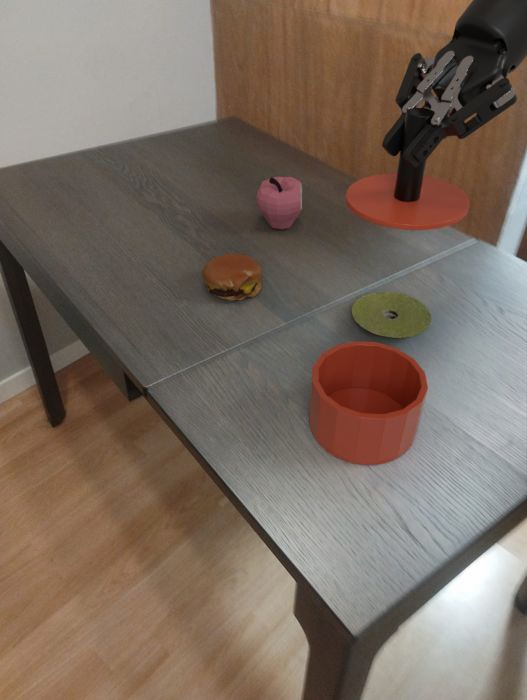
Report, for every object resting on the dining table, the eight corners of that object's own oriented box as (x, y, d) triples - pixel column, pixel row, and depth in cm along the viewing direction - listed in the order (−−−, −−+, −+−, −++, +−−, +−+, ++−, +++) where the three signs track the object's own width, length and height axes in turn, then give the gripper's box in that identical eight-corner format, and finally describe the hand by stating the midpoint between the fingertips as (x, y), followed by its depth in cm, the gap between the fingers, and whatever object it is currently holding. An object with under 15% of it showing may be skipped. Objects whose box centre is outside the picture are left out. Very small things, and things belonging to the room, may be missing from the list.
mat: (352, 298, 83) (353, 288, 82) (426, 305, 82) (428, 294, 80) (348, 343, 75) (349, 332, 74) (431, 352, 73) (433, 340, 72)
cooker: (408, 389, 68) (419, 343, 63) (422, 468, 58) (435, 421, 53) (310, 384, 69) (313, 339, 64) (308, 461, 59) (311, 415, 54)
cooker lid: (454, 183, 65) (474, 93, 58) (478, 237, 55) (506, 135, 48) (343, 181, 66) (350, 92, 59) (346, 234, 56) (356, 133, 49)
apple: (298, 239, 98) (300, 187, 92) (252, 235, 100) (251, 183, 93) (305, 216, 105) (307, 166, 99) (263, 213, 107) (262, 163, 100)
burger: (219, 267, 91) (217, 243, 88) (270, 277, 88) (270, 252, 85) (193, 298, 84) (190, 273, 81) (248, 310, 81) (247, 284, 78)
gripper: (450, -31, 54) (340, 116, 58) (569, -17, 44) (428, 157, 48) (476, 24, 59) (374, 155, 63) (588, 47, 50) (460, 200, 53)
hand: (398, 155), depth 55 cm, fingers closed on cooker lid, 3 cm apart
